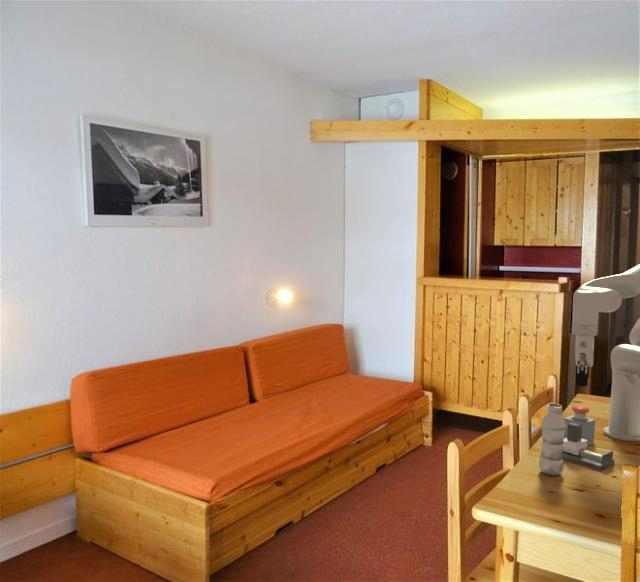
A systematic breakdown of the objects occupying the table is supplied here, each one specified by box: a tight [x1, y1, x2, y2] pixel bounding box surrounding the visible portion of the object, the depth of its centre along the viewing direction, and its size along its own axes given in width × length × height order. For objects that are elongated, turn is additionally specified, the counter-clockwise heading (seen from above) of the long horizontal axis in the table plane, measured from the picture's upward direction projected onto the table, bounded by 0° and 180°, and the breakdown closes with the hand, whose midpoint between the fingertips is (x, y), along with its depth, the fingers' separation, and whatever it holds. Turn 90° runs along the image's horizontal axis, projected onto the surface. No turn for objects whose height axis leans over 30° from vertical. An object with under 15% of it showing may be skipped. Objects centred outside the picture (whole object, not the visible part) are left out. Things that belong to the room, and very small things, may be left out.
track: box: [563, 449, 616, 472], centre depth 182 cm, size 9×14×4 cm, turn 40°
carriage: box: [563, 422, 588, 455], centre depth 184 cm, size 7×5×8 cm
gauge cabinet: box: [563, 414, 596, 447], centre depth 198 cm, size 8×7×8 cm
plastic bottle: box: [538, 403, 566, 476], centre depth 170 cm, size 6×7×20 cm
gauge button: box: [571, 404, 590, 422], centre depth 197 cm, size 5×5×5 cm
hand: (582, 381), depth 191 cm, fingers open, 9 cm apart
